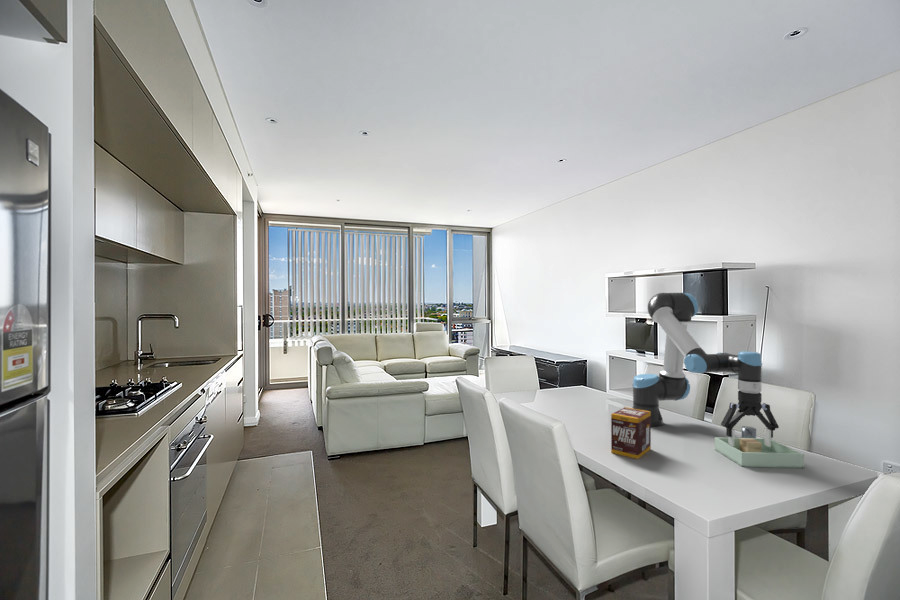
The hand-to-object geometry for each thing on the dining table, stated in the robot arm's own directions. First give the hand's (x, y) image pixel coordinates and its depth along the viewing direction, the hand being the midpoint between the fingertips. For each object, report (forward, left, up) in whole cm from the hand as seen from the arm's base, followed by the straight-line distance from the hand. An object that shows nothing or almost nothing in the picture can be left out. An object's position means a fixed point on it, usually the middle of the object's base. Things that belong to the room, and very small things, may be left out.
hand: (749, 445), depth 165 cm
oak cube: (+1, 0, -3) cm, 3 cm away
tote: (+4, 0, -3) cm, 5 cm away
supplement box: (-1, -45, -4) cm, 45 cm away
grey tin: (-12, +7, -3) cm, 14 cm away
